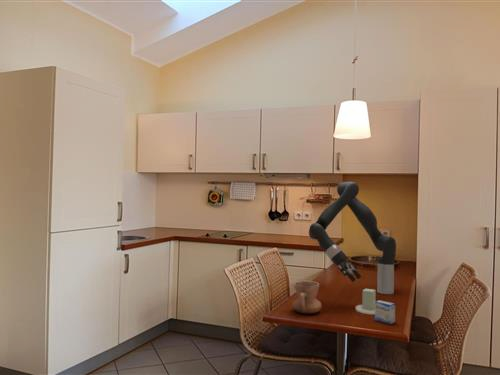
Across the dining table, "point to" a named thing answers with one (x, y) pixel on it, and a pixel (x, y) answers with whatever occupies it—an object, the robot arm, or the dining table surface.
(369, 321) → the dining table surface
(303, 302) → the ceramic jug
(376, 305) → the medicine box
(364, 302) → the sage block
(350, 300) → the dining table surface
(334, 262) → the robot arm
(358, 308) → the dish
